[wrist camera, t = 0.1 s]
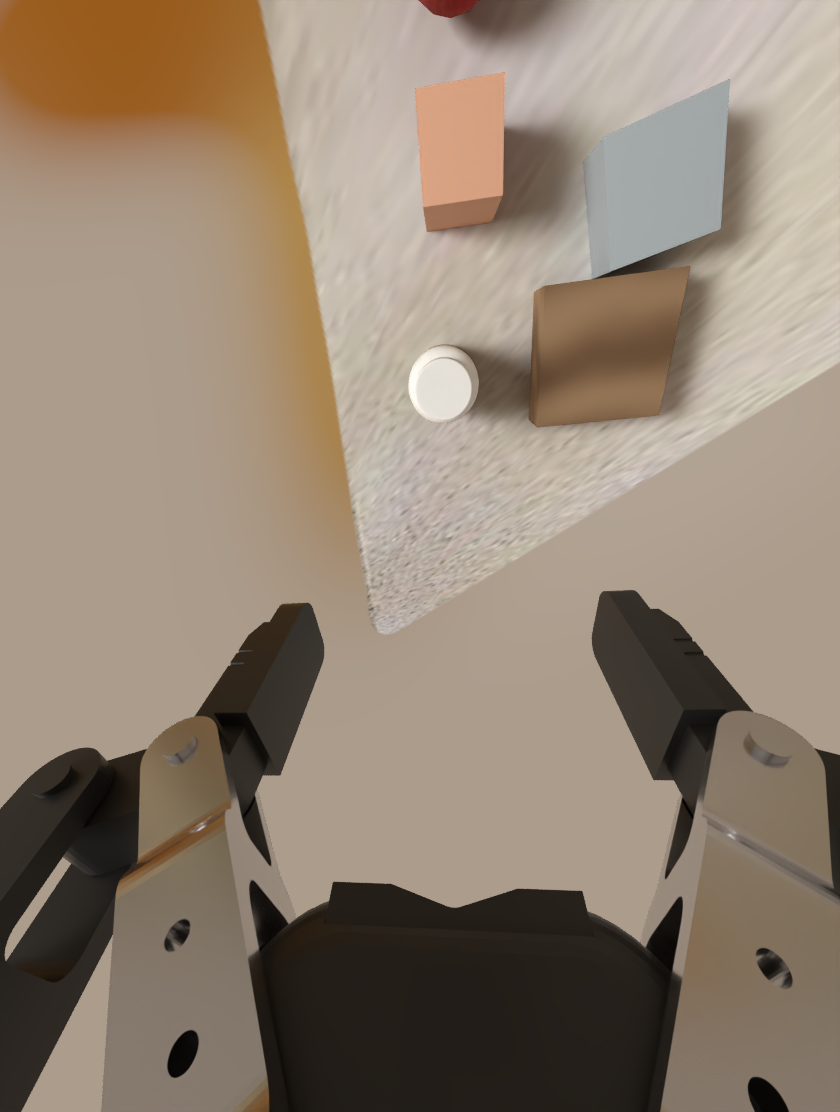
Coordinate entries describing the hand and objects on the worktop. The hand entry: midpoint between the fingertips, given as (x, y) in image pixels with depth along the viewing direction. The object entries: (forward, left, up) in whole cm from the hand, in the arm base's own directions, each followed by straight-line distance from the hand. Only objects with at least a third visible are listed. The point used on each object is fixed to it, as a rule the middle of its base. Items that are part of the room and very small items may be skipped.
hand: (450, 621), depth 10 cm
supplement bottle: (-4, 0, -29) cm, 30 cm away
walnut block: (-5, +13, -30) cm, 32 cm away
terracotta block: (-17, +2, -29) cm, 34 cm away
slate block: (-14, +15, -29) cm, 36 cm away
